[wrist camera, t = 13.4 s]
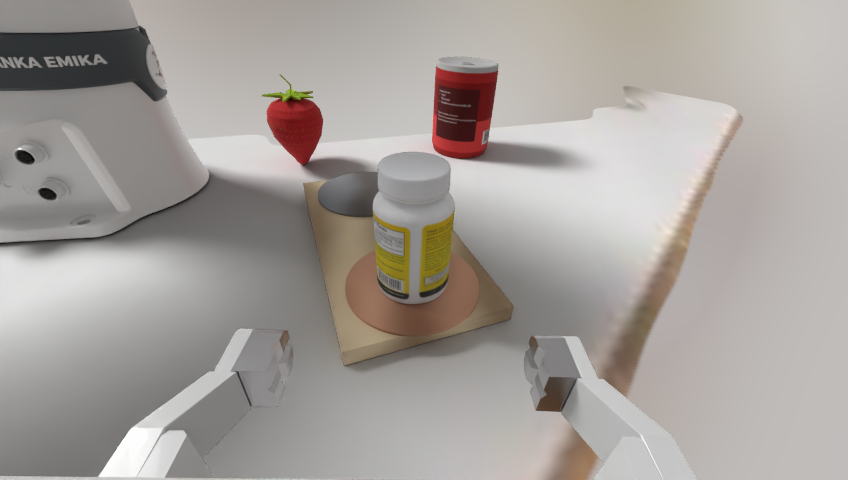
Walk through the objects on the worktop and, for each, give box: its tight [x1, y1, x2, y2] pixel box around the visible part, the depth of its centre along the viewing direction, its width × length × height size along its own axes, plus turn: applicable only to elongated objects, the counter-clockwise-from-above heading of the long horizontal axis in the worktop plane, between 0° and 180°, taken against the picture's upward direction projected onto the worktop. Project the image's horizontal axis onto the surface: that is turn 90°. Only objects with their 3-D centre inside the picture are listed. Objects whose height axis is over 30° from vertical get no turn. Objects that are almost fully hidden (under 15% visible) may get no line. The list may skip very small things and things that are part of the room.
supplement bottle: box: [373, 152, 455, 304], centre depth 22 cm, size 5×5×8 cm
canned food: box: [432, 57, 498, 158], centre depth 47 cm, size 8×8×11 cm
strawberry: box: [262, 75, 323, 164], centre depth 40 cm, size 6×8×10 cm
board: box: [303, 172, 514, 366], centre depth 30 cm, size 11×23×2 cm, turn 21°
